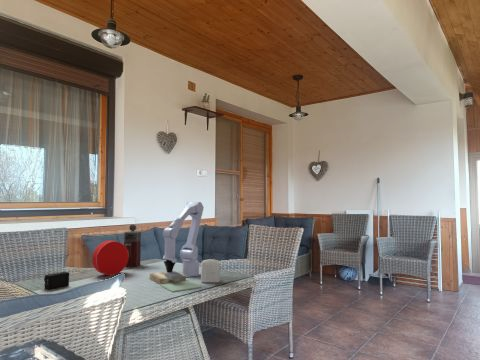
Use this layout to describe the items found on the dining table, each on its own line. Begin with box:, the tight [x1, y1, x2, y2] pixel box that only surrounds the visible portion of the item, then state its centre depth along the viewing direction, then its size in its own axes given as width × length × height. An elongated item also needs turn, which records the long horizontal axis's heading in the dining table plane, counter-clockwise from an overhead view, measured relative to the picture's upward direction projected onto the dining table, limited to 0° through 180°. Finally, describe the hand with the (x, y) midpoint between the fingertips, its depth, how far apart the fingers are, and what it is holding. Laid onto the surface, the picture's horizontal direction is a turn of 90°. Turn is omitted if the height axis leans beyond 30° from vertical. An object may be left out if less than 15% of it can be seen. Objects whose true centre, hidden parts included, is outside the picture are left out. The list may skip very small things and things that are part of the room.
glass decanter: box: [123, 223, 142, 268], centre depth 233 cm, size 9×11×28 cm
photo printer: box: [200, 258, 221, 283], centre depth 189 cm, size 10×4×12 cm, turn 94°
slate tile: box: [165, 271, 182, 280], centre depth 186 cm, size 6×9×2 cm, turn 35°
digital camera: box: [43, 271, 70, 291], centre depth 177 cm, size 10×5×7 cm, turn 148°
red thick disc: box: [91, 240, 129, 276], centre depth 207 cm, size 20×6×20 cm, turn 136°
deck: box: [148, 270, 187, 286], centre depth 193 cm, size 15×16×3 cm
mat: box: [159, 279, 202, 293], centre depth 179 cm, size 16×16×1 cm
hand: (169, 274), depth 191 cm, fingers closed
